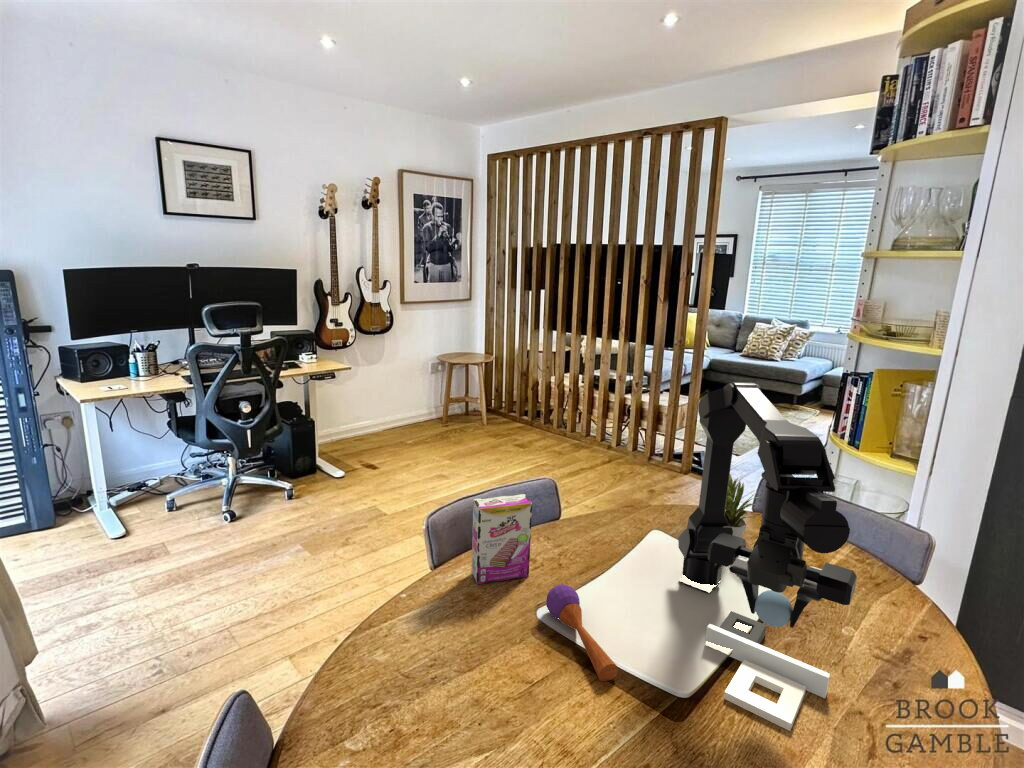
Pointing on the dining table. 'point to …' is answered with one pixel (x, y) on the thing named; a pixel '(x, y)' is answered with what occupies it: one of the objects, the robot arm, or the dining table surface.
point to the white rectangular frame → (760, 706)
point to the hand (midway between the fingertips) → (772, 619)
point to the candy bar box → (501, 538)
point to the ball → (773, 608)
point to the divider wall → (771, 660)
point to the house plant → (732, 505)
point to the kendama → (579, 628)
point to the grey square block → (757, 627)
